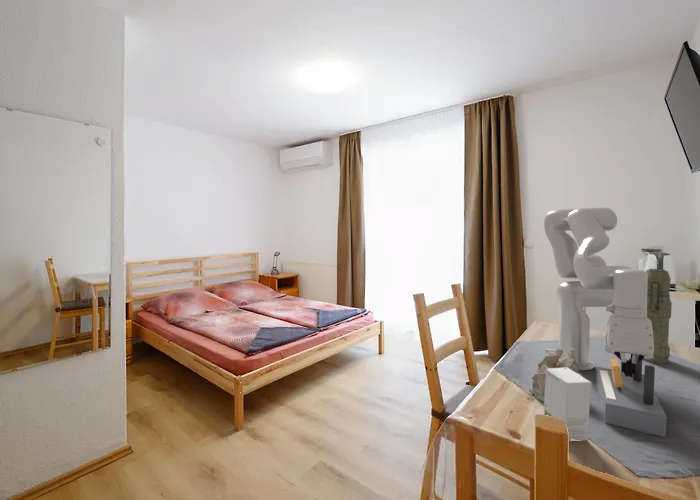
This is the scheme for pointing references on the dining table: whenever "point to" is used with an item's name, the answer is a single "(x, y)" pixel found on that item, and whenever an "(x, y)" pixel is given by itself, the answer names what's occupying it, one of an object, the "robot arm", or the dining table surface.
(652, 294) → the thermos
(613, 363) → the wooden plank tile
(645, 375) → the dark gray rod
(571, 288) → the robot arm
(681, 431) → the dining table surface
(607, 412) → the strip
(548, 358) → the beige rock sculpture
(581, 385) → the skincare box
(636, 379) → the dark grey cylinder
